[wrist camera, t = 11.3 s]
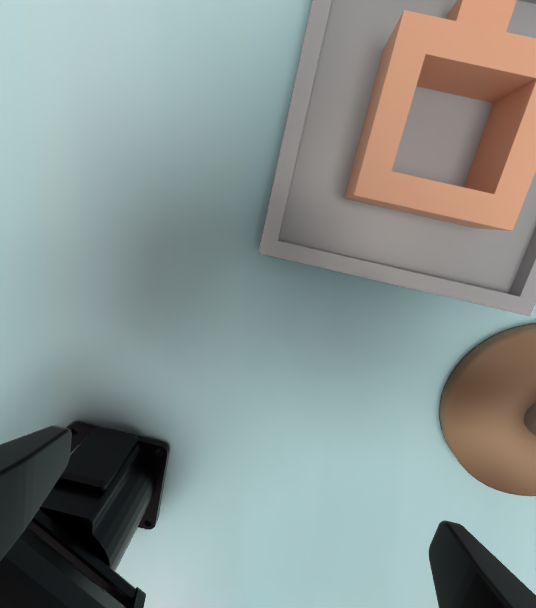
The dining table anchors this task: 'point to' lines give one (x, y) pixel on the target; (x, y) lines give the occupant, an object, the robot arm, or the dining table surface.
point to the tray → (409, 160)
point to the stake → (495, 411)
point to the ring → (464, 82)
